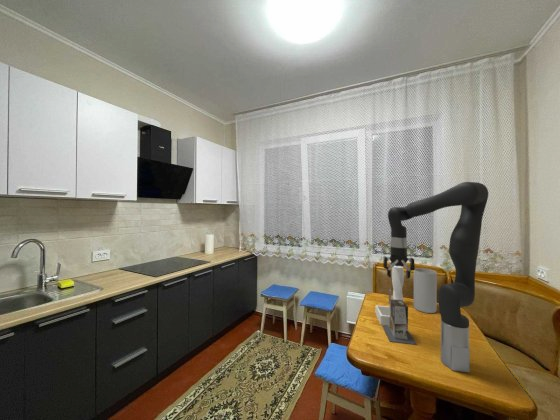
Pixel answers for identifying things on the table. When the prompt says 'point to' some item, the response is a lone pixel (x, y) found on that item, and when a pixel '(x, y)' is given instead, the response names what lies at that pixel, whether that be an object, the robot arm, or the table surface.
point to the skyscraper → (397, 283)
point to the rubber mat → (397, 340)
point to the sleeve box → (383, 314)
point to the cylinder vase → (425, 290)
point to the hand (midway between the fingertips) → (398, 277)
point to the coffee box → (399, 319)
